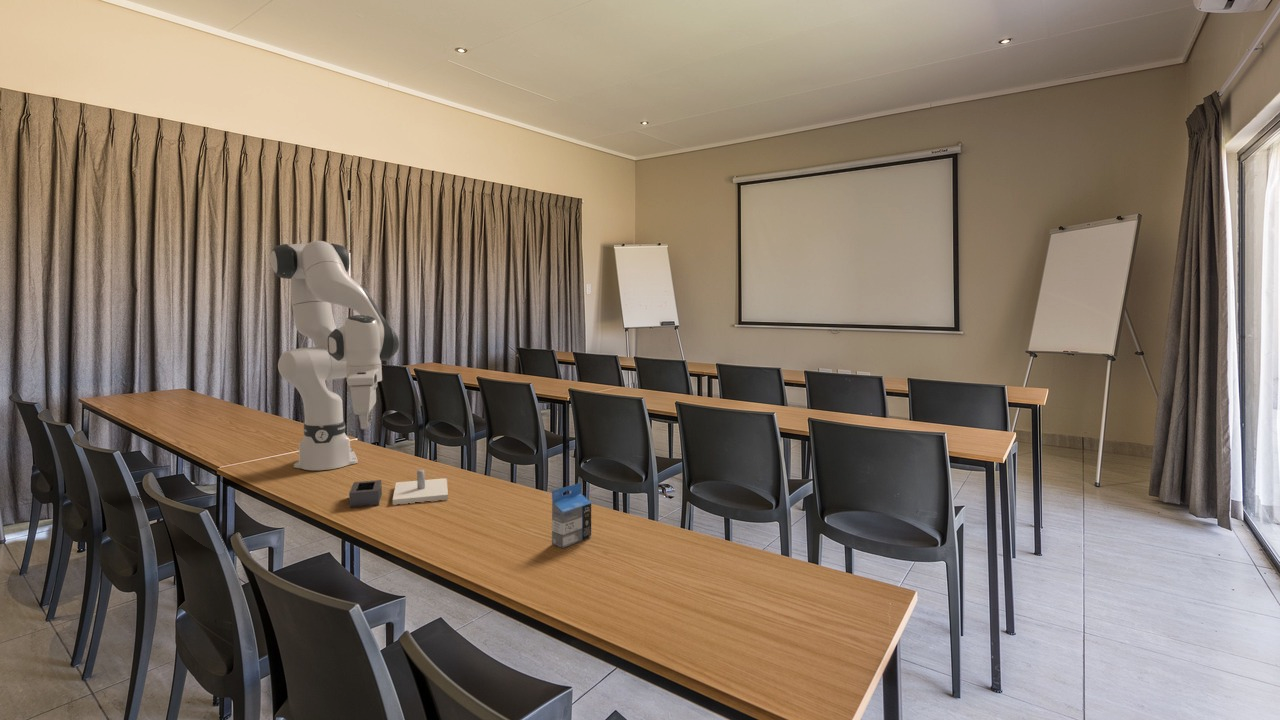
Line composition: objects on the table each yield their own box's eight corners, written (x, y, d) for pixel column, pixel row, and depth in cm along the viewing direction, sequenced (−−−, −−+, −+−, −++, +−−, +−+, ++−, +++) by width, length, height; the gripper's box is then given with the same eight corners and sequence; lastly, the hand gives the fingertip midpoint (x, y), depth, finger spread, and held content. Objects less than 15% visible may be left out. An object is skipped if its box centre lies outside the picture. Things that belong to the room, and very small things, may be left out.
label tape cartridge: (562, 549, 133) (562, 494, 132) (551, 544, 135) (550, 491, 134) (592, 537, 139) (592, 485, 138) (580, 533, 142) (580, 482, 141)
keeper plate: (396, 487, 175) (395, 465, 175) (446, 483, 180) (446, 461, 179) (392, 505, 160) (392, 481, 160) (448, 499, 165) (447, 476, 164)
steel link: (354, 496, 167) (353, 482, 167) (381, 493, 169) (381, 479, 169) (349, 508, 158) (349, 493, 157) (378, 505, 160) (378, 490, 160)
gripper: (356, 371, 173) (358, 419, 175) (346, 380, 154) (348, 433, 155) (380, 370, 175) (382, 417, 176) (373, 379, 156) (375, 431, 157)
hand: (366, 425), depth 166 cm, fingers open, 8 cm apart
